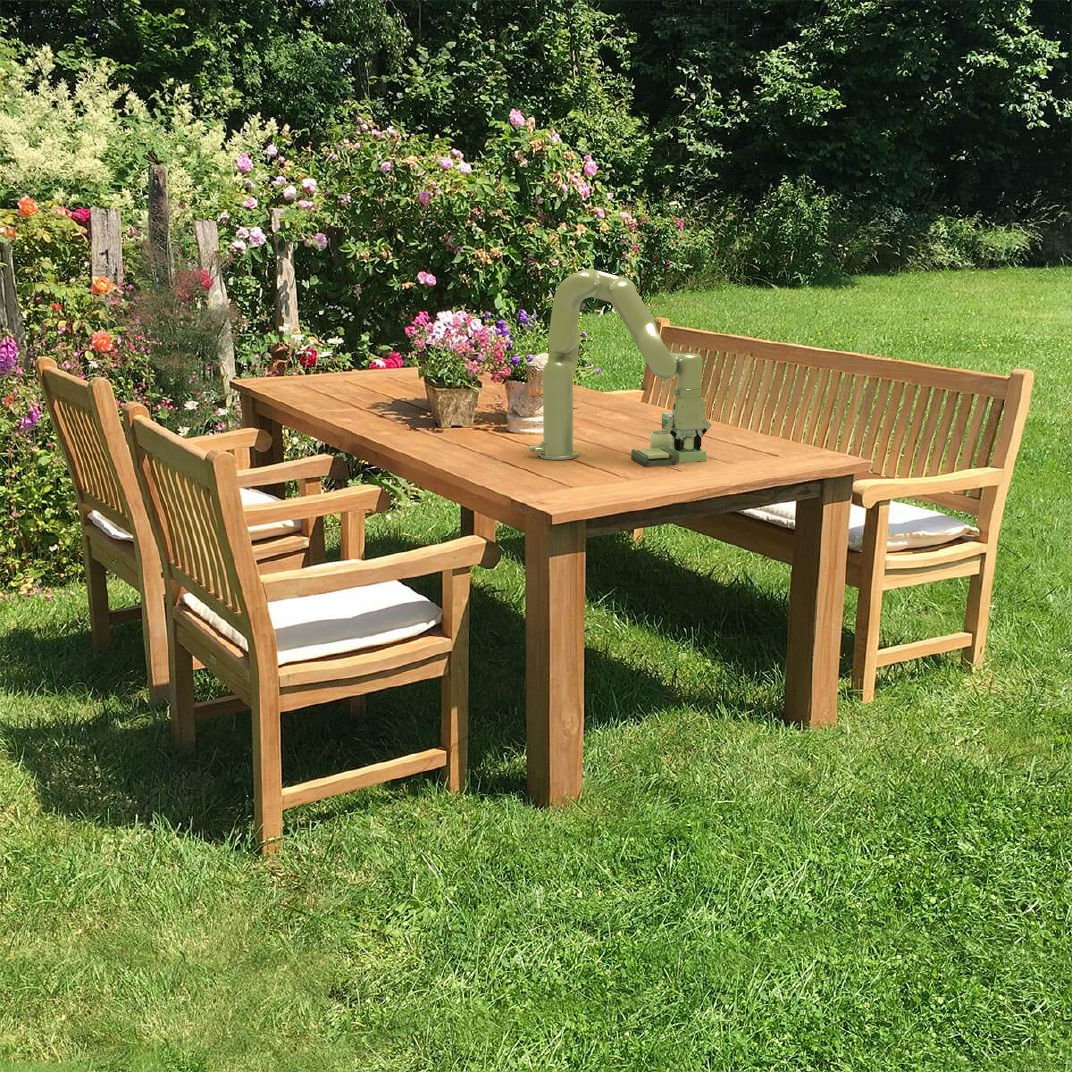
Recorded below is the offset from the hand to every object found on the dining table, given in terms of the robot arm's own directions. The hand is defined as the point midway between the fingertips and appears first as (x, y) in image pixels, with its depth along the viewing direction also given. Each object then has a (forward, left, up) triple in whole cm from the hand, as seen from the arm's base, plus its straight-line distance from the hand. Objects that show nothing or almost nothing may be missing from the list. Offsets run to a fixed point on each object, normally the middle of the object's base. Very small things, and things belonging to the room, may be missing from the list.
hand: (687, 449), depth 380 cm
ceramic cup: (-5, +10, -3) cm, 12 cm away
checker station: (-12, -1, -3) cm, 12 cm away
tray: (0, 0, -3) cm, 3 cm away
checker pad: (-12, -1, -1) cm, 12 cm away
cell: (0, 0, -3) cm, 3 cm away
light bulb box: (+6, +22, -3) cm, 23 cm away
